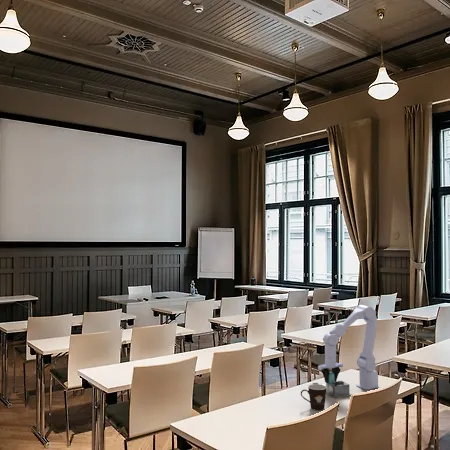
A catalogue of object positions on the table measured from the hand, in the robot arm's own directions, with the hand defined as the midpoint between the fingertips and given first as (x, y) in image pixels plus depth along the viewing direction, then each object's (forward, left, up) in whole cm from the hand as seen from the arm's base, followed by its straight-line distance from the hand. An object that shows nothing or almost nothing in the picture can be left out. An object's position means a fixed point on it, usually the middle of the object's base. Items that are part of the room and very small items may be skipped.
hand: (330, 382), depth 256 cm
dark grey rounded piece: (+3, -10, -4) cm, 11 cm away
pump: (0, 0, -2) cm, 2 cm away
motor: (0, +4, -4) cm, 6 cm away
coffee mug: (+22, +18, -5) cm, 29 cm away
